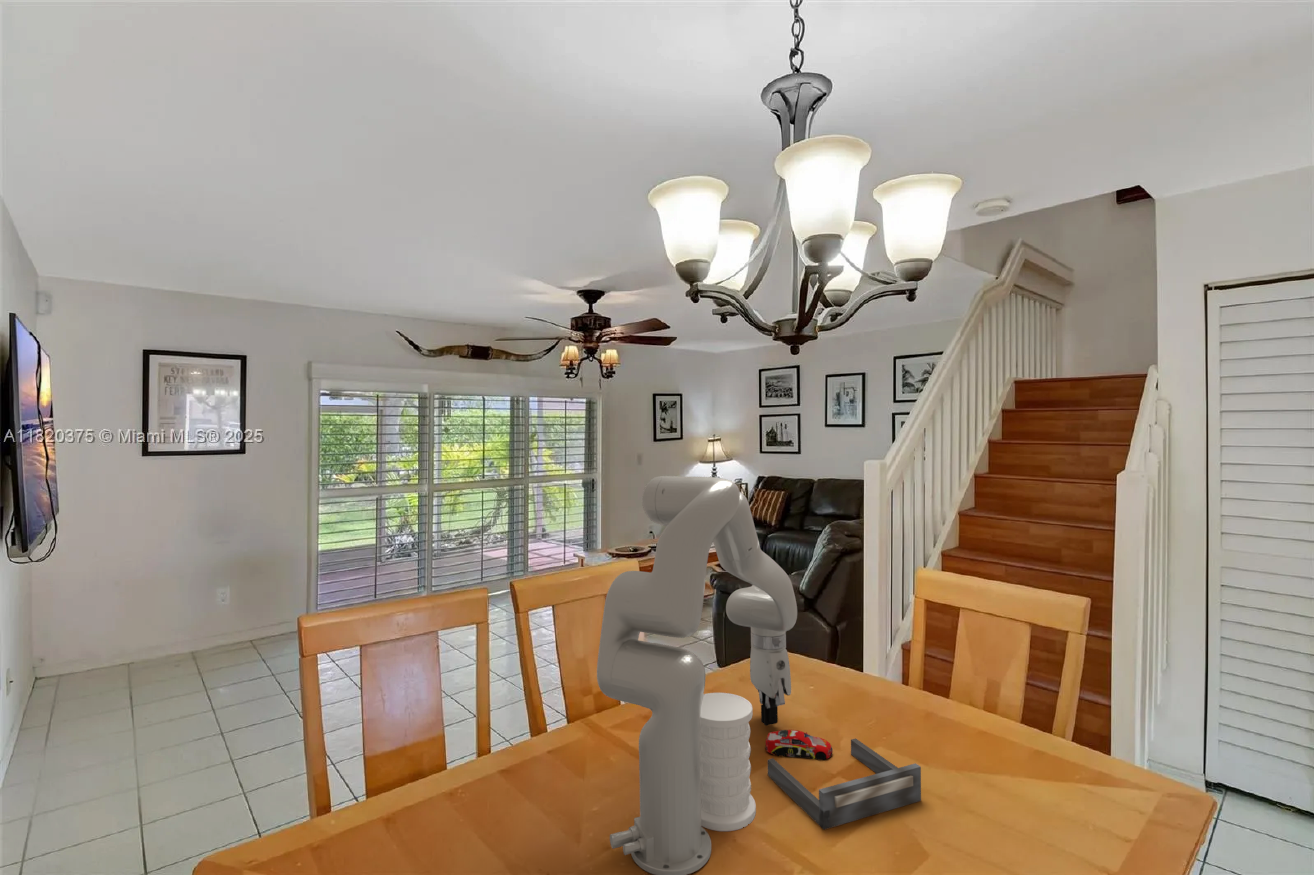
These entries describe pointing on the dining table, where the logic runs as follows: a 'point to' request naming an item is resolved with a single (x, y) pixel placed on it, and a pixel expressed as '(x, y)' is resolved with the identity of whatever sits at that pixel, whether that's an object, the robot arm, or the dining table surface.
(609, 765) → the dining table surface
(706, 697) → the decorative container
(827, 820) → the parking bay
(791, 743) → the race car
